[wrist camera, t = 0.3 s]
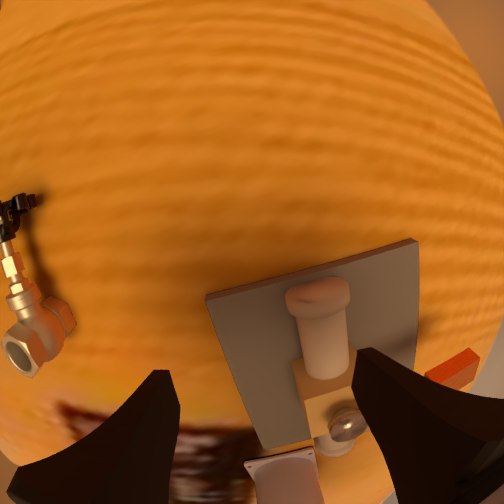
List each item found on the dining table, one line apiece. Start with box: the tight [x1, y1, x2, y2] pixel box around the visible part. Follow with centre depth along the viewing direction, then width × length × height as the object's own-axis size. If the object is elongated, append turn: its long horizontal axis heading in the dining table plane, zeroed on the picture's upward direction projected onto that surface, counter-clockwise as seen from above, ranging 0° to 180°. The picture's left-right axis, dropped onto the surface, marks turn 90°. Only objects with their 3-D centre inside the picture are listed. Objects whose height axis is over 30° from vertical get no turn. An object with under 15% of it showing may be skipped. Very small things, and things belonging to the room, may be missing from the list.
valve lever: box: [327, 348, 480, 442], centre depth 15 cm, size 12×3×2 cm, turn 104°
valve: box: [0, 193, 76, 378], centre depth 15 cm, size 7×7×12 cm
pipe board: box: [205, 239, 419, 457], centre depth 19 cm, size 18×16×5 cm
